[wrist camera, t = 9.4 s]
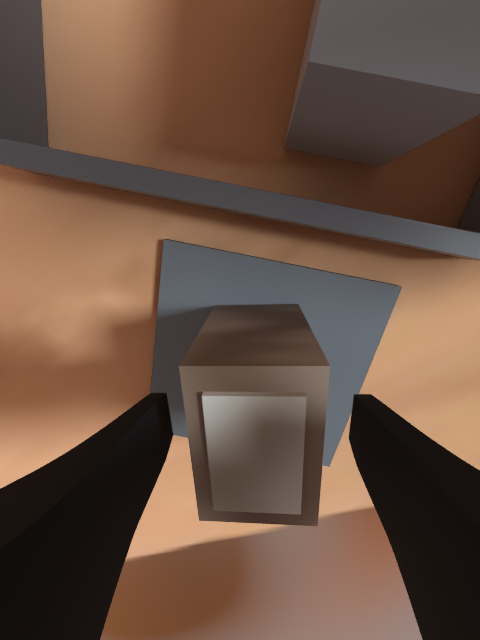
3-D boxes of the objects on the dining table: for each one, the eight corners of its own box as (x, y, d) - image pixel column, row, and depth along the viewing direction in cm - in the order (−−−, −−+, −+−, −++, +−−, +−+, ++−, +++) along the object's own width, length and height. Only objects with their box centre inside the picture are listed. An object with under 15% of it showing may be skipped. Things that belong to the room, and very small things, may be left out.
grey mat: (397, 285, 12) (401, 287, 12) (327, 461, 16) (329, 466, 16) (166, 239, 12) (163, 239, 12) (150, 424, 16) (147, 429, 16)
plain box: (443, -34, 9) (770, -502, 3) (378, 167, 11) (508, 99, 5) (326, -55, 9) (442, -560, 3) (283, 148, 11) (308, 61, 5)
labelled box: (298, 303, 12) (332, 369, 7) (294, 409, 14) (318, 532, 9) (214, 305, 13) (176, 370, 7) (222, 408, 15) (198, 526, 9)
